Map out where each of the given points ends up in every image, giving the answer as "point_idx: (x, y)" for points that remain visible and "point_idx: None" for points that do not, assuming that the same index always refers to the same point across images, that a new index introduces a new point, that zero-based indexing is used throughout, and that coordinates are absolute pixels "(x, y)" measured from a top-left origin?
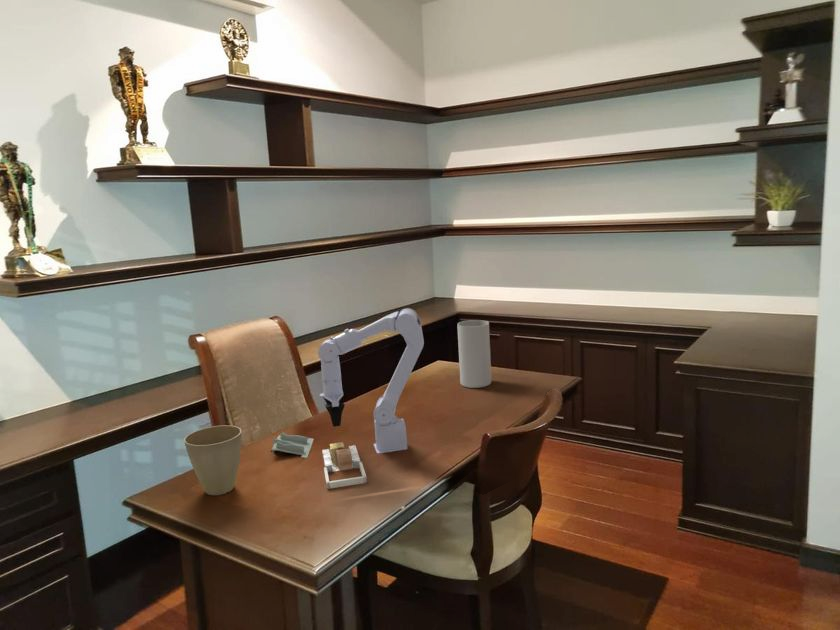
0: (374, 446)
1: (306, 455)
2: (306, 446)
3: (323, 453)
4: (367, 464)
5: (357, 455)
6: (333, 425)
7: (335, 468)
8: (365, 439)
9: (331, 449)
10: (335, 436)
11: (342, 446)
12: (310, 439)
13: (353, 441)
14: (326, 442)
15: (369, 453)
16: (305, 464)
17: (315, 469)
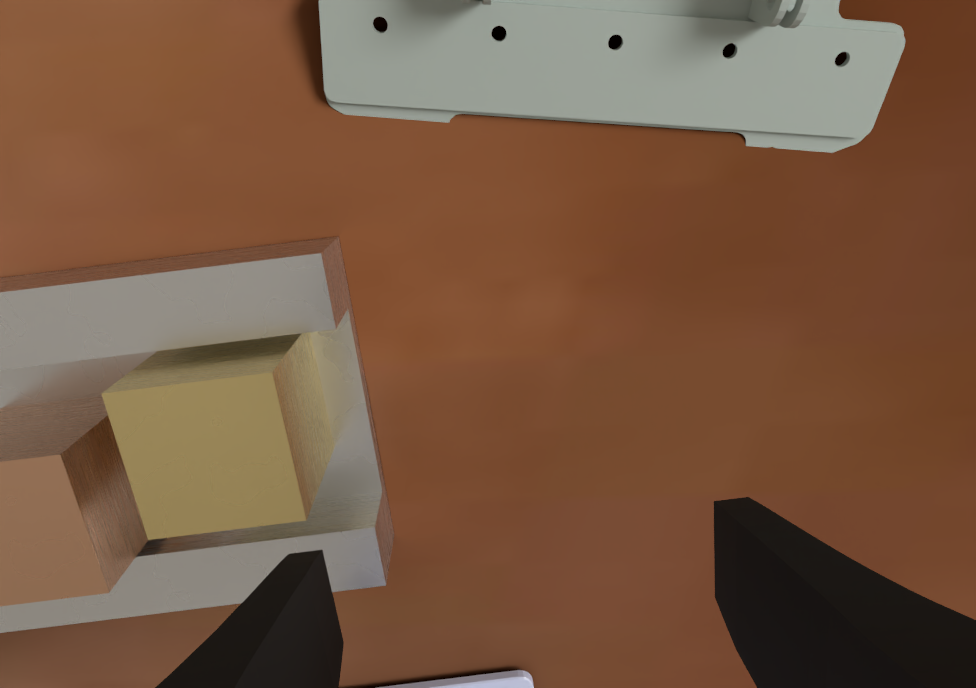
0: (466, 684)
1: (383, 43)
2: (641, 23)
3: (207, 273)
4: (134, 623)
5: (113, 610)
6: (276, 569)
7: (5, 381)
8: (692, 602)
9: (106, 399)
10: (886, 337)
11: (169, 520)
12: (859, 61)
13: (683, 507)
14: (756, 250)
15: (365, 635)
16: (195, 45)
17: (53, 171)
